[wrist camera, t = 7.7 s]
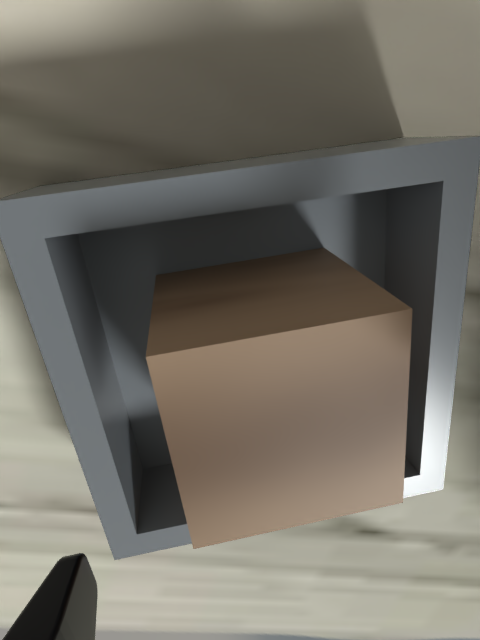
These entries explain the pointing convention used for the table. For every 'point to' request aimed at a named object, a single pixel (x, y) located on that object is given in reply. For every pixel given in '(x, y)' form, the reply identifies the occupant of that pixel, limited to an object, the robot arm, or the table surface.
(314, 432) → the walnut block
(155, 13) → the table surface
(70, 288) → the charcoal tote
